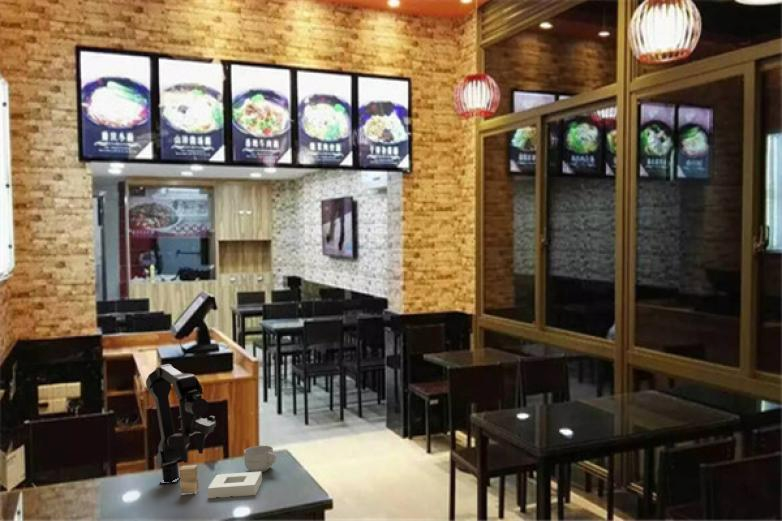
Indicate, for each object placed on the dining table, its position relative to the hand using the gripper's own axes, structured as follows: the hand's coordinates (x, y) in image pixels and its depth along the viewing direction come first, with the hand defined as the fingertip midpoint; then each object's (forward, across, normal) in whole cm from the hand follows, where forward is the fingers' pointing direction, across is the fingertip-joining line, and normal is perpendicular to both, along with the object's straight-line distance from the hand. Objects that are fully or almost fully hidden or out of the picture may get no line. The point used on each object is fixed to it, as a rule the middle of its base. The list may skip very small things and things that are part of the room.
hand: (193, 457), depth 213 cm
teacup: (+14, +25, -12) cm, 31 cm away
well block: (+14, +8, -10) cm, 19 cm away
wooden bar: (+13, +4, +5) cm, 15 cm away
